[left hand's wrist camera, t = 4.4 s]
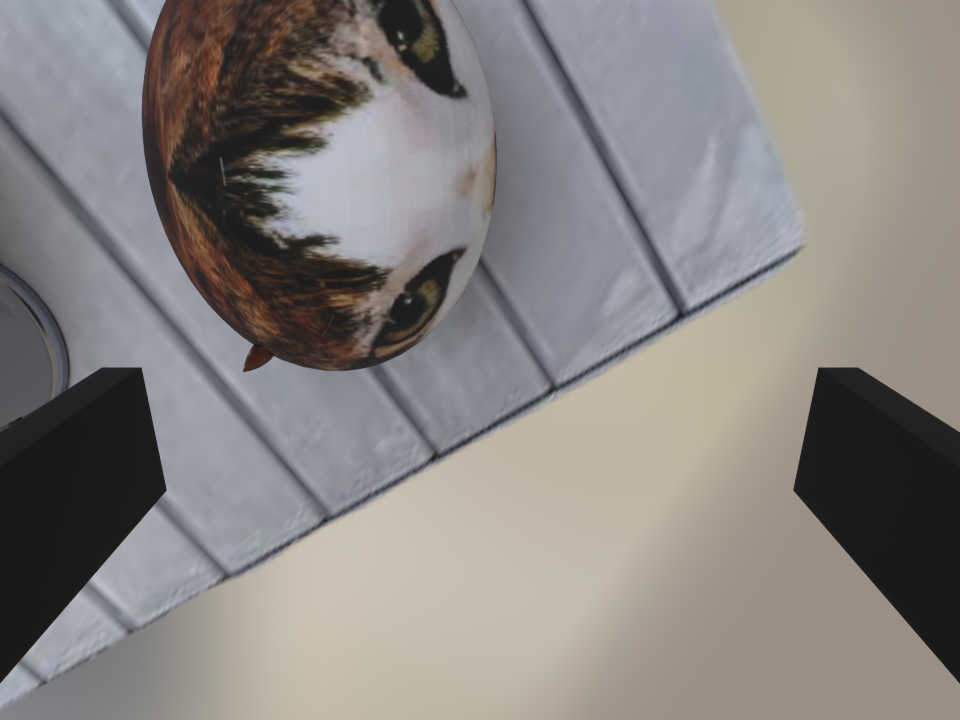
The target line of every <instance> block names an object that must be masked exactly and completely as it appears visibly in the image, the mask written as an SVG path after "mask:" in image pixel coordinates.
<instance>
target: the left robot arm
mask: <svg viewBox="0 0 960 720" xmlns="http://www.w3.org/2000/svg"><path fill="white" fill-rule="evenodd" d="M67 381H68V359H67V353H66V349H65V345H64V341H63V339H62V336H61V333H60V331H59V329H58V327H57V325H56V323H55V321H54V319H53V317H52V316H51V314H50V312H49V311H48V309H47V308H46V307H45V305H44V304H43V303H42V301H41V300H40V299H39V298H38V297H37V295H36V294H35V293H34V292H33V291H32V290H31V289H30V288H29V287H28V286H27V285H26V284H25V283H24V282H23V281H21V280H20V279H19V278H18V277H17V276H15V275H14V274H13V273H11V272H10V271H9V270H7V269H6V268H4V267H3V266H1V265H0V683H1V682H2V681H3V680H4V678H5V677H6V676H7V675H8V674H9V673H10V671H11V670H12V669H13V668H14V667H15V666H16V664H17V663H18V662H19V661H20V660H21V659H22V658H23V656H24V655H25V654H26V653H27V652H28V651H29V649H30V648H31V647H32V646H33V645H34V644H35V642H36V641H37V640H38V639H39V638H40V637H41V635H42V634H43V633H44V632H45V631H46V630H47V629H48V627H49V626H50V625H51V624H52V623H53V622H54V620H55V619H56V618H57V617H58V616H59V615H60V613H61V612H62V611H63V610H64V609H65V608H66V606H67V605H68V604H69V603H70V602H71V601H72V600H73V598H74V597H75V596H76V595H77V594H78V593H79V591H80V590H81V589H82V588H83V587H84V586H85V584H86V583H87V582H88V581H89V580H90V579H91V577H92V576H93V575H94V574H95V573H96V572H97V571H98V569H99V568H100V567H101V566H102V565H103V564H104V562H105V561H106V560H107V559H108V558H109V557H110V555H111V554H112V553H113V552H114V551H115V550H116V548H117V547H118V546H119V545H120V544H121V543H122V542H123V540H124V539H125V538H126V537H127V536H128V535H129V533H130V532H131V531H132V530H133V529H134V528H135V526H136V525H137V524H138V523H139V522H140V521H141V519H142V518H143V517H144V516H145V515H146V514H147V512H148V511H149V510H150V509H151V508H152V507H153V506H154V504H155V503H156V502H157V501H158V500H159V499H160V497H161V496H162V495H163V494H164V493H165V492H166V490H167V489H166V484H165V480H164V475H163V470H162V465H161V460H160V455H159V450H158V446H157V441H156V436H155V431H154V426H153V421H152V416H151V412H150V407H149V402H148V397H147V392H146V387H145V382H144V378H143V373H142V368H101V369H99V370H97V371H96V372H94V373H93V374H91V375H90V376H88V377H86V378H85V379H83V380H82V381H80V382H79V383H77V384H75V385H74V386H72V387H71V388H69V389H68V390H66V387H67ZM65 390H66V391H65ZM793 490H794V492H795V493H796V494H797V495H798V496H799V497H800V499H801V500H802V501H803V502H804V503H805V504H806V506H807V507H808V508H809V509H810V510H811V511H812V512H813V514H814V515H815V516H816V517H817V518H818V519H819V521H820V522H821V523H822V524H823V525H824V526H825V528H826V529H827V530H828V531H829V532H830V533H831V535H832V536H833V537H834V538H835V539H836V540H837V542H838V543H839V544H840V545H841V546H842V547H843V548H844V550H845V551H846V552H847V553H848V554H849V555H850V557H851V558H852V559H853V560H854V561H855V562H856V563H857V565H858V566H859V567H860V568H861V569H862V571H863V572H864V573H865V574H866V575H867V576H868V577H869V579H870V580H871V581H872V582H873V583H874V584H875V586H876V587H877V588H878V589H879V590H880V591H881V593H882V594H883V595H884V596H885V597H886V598H887V600H888V601H889V602H890V603H891V604H892V605H893V606H894V608H895V609H896V610H897V611H898V612H899V613H900V615H901V616H902V617H903V618H904V619H905V620H906V622H907V623H908V624H909V625H910V626H911V627H912V628H913V630H914V631H915V632H916V633H917V634H918V635H919V637H920V638H921V639H922V640H923V641H924V642H925V644H926V645H927V646H928V647H929V648H930V649H931V650H932V652H933V653H934V654H935V655H936V656H937V658H938V659H939V660H940V661H941V662H942V663H943V664H944V666H945V667H946V668H947V669H948V670H949V671H950V673H951V674H952V675H953V676H954V677H955V678H956V680H957V681H958V682H959V683H960V432H958V431H957V430H955V429H954V428H952V427H950V426H949V425H947V424H946V423H944V422H943V421H941V420H939V419H938V418H936V417H935V416H933V415H932V414H930V413H929V412H927V411H925V410H924V409H922V408H921V407H919V406H918V405H916V404H914V403H913V402H911V401H910V400H908V399H907V398H905V397H903V396H902V395H900V394H899V393H897V392H896V391H894V390H892V389H891V388H889V387H888V386H886V385H885V384H883V383H881V382H880V381H878V380H877V379H875V378H874V377H872V376H870V375H869V374H867V373H866V372H864V371H863V370H861V369H859V368H818V373H817V378H816V382H815V387H814V392H813V397H812V402H811V407H810V412H809V416H808V421H807V426H806V431H805V436H804V441H803V446H802V450H801V455H800V460H799V465H798V470H797V475H796V480H795V484H794V489H793Z"/></svg>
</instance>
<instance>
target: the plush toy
mask: <svg viewBox="0 0 960 720" xmlns="http://www.w3.org/2000/svg"><path fill="white" fill-rule="evenodd" d="M142 129H143V143H144V154H145V160H146V166H147V173H148V177H149V182H150V186H151V190H152V194H153V197H154V201H155V204H156V208H157V211H158V214H159V217H160V219H161V222H162V225H163V227H164V230H165V233H166V235H167V237H168V240H169V242H170V244H171V246H172V248H173V250H174V252H175V254H176V256H177V258H178V260H179V262H180V264H181V265H182V267H183V269H184V270H185V272H186V274H187V275H188V277H189V279H190V280H191V282H192V283H193V284H194V286H195V287H196V289H197V290H198V291H199V293H200V294H201V295H202V297H203V298H204V299H205V300H206V302H207V303H208V304H209V305H210V307H211V308H212V309H213V310H214V311H215V312H216V313H217V314H218V315H219V316H220V317H221V318H222V319H223V320H224V321H225V322H226V323H227V324H228V325H229V326H230V327H232V328H233V329H234V330H235V331H236V332H237V333H239V334H240V335H241V336H242V337H244V338H245V339H246V340H248V341H249V342H251V343H252V344H254V345H253V347H252V348H251V350H250V352H249V353H248V356H247V358H246V361H245V365H244V370H243V372H246V371H250V370H254V369H257V368H259V367H261V366H263V365H264V364H266V363H267V362H268V361H269V360H271V359H272V357H273V356H275V357H277V358H279V359H281V360H284V361H287V362H290V363H293V364H296V365H299V366H302V367H307V368H313V369H319V370H325V371H348V370H356V369H362V368H366V367H370V366H374V365H377V364H381V363H383V362H385V361H388V360H390V359H392V358H394V357H396V356H399V355H401V354H403V353H404V352H406V351H407V350H409V349H410V348H412V347H413V346H415V345H416V344H418V343H419V342H421V341H422V340H423V339H424V338H425V337H426V336H427V335H428V334H429V333H431V332H432V331H433V330H434V329H435V328H436V327H437V326H438V325H439V324H440V323H441V322H442V320H443V319H444V318H445V317H446V316H447V314H448V313H449V312H450V311H451V309H452V308H453V307H454V305H455V304H456V302H457V301H458V299H459V298H460V296H461V295H462V293H463V291H464V289H465V288H466V286H467V284H468V282H469V280H470V278H471V277H472V275H473V272H474V270H475V268H476V265H477V263H478V261H479V258H480V255H481V252H482V249H483V246H484V243H485V240H486V237H487V233H488V229H489V225H490V221H491V215H492V210H493V204H494V195H495V186H496V160H497V150H496V133H495V125H494V117H493V110H492V104H491V98H490V93H489V89H488V85H487V81H486V77H485V73H484V70H483V67H482V64H481V61H480V58H479V55H478V53H477V50H476V47H475V45H474V42H473V40H472V37H471V35H470V32H469V30H468V28H467V26H466V24H465V22H464V20H463V18H462V16H461V14H460V12H459V11H458V9H457V8H456V6H455V4H454V3H453V1H452V0H166V1H165V3H164V5H163V8H162V10H161V13H160V15H159V17H158V20H157V23H156V26H155V29H154V32H153V36H152V40H151V44H150V48H149V52H148V56H147V61H146V68H145V75H144V84H143V94H142Z"/></svg>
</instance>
